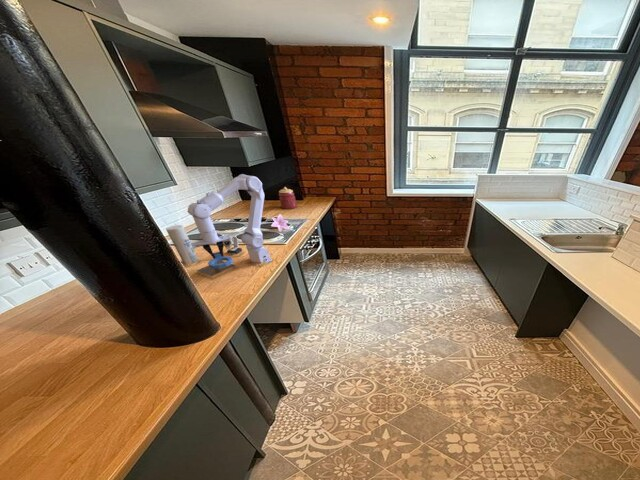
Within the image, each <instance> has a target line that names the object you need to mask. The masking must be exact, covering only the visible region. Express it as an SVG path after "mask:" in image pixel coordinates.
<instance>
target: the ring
mask: <svg viewBox="0 0 640 480" xmlns="http://www.w3.org/2000/svg"><path fill="white" fill-rule="evenodd" d="M213 254H214V256H215V259H214V258H213V259H210V260H209V261H208V262H207V266H209V267H210V268H213V269H218V268H223V267H227V266H229V265H231V264H233V263H234V259H233V257H232V256H229V255H228V256H226V255H223V257H222V256H221V254H220V252H219V251H216V252H213ZM220 261H224V263H221V264H215V263H217V262H220Z"/></svg>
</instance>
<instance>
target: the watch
mask: <svg viewBox="0 0 640 480" xmlns="http://www.w3.org/2000/svg"><path fill="white" fill-rule="evenodd" d="M229 236H230V237H231V240H232V241H225V242H223V243H224V248H225V249H226V253H227V254H231V255H238V254H240V253H241V252H242V251H243V249H242V247H239V239H238V238H237V236H236V235H229ZM232 246H233V247H232Z"/></svg>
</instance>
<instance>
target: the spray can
mask: <svg viewBox="0 0 640 480" xmlns="http://www.w3.org/2000/svg"><path fill="white" fill-rule="evenodd" d="M165 230H166V232H167V234H168V236H169V238H170V240H171V242H172V244H173V246H174V247H175V250H176V251H177V253H178V255H179V258H180V259H181V261H182V263H183V264H184V265H189V264H190V265H191V264H194V263H197V262H199V258H198V255H197V253H196V251H195V248H194V249H193V247H192V245H191V243H192V242H191V240H190V238H189V236H188V233H187V231H186V230H185V227H184V226H183V225H181V224H178V225H171V226H168V227H166V228H165Z"/></svg>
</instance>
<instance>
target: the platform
mask: <svg viewBox="0 0 640 480" xmlns="http://www.w3.org/2000/svg"><path fill="white" fill-rule="evenodd" d="M224 262H225V261H220V262H217V263H215V264H221V263H224ZM236 266H237V265H236V264H233V263H232V264H231V265H229V266H227V267H223V268H218V269H213V268H210V267H209V265H206V266H204V267H202V268H199V269H197V270H196V272H199V273H201V274H205V275H207V276H210V277H213V276H216V275H218V274H221V273H222V272H224V271H227V270H229V269H231V268H233V267H236Z"/></svg>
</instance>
